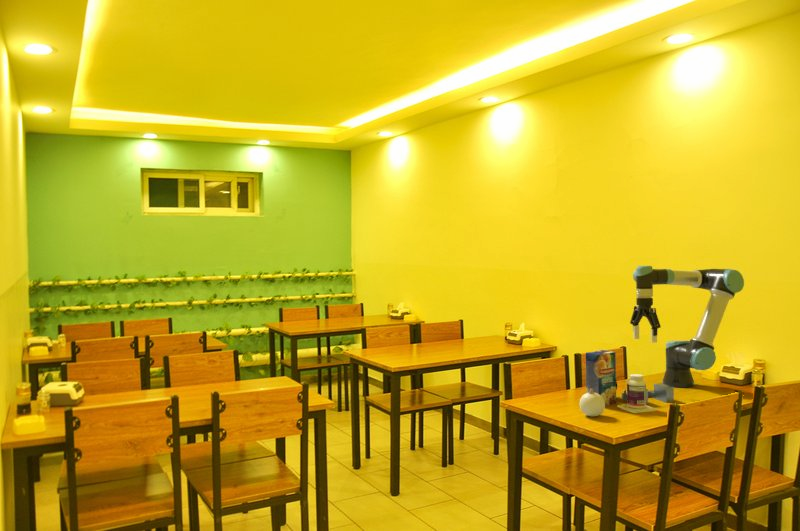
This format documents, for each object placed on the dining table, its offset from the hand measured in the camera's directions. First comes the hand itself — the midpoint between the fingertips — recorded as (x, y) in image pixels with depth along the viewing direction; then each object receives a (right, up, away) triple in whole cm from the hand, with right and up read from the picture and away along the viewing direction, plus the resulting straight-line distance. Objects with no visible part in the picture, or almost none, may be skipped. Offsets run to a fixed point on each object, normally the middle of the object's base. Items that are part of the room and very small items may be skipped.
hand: (645, 340), depth 314 cm
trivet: (-14, -28, -26) cm, 40 cm away
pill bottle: (-14, -27, -26) cm, 40 cm away
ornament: (-37, -29, -37) cm, 59 cm away
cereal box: (-26, -28, -15) cm, 41 cm away
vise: (-5, -27, -11) cm, 30 cm away
